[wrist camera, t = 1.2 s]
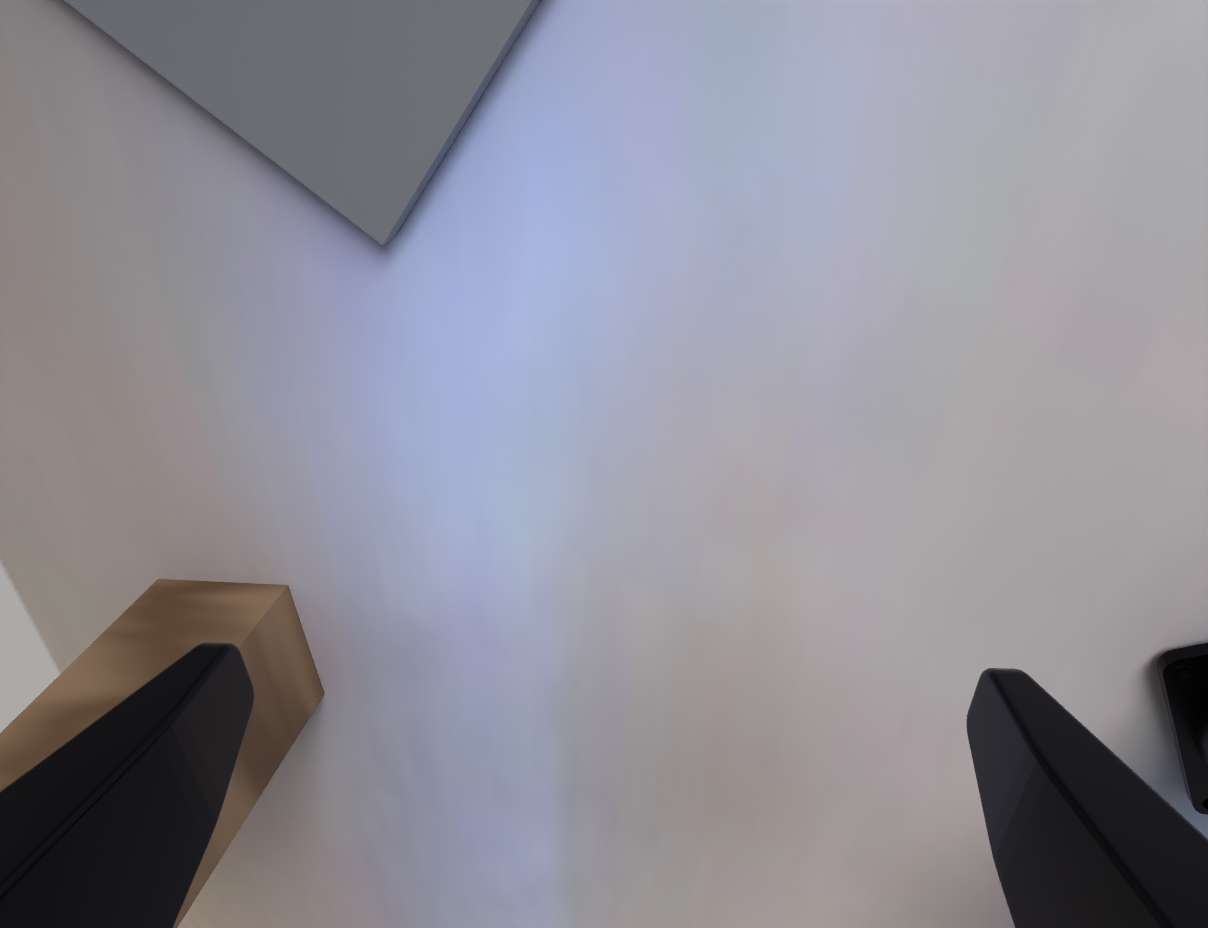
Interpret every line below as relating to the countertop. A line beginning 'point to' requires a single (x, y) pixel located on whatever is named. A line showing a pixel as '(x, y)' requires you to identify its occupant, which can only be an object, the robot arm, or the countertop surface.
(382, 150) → the plate
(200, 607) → the walnut block
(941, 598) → the countertop surface
